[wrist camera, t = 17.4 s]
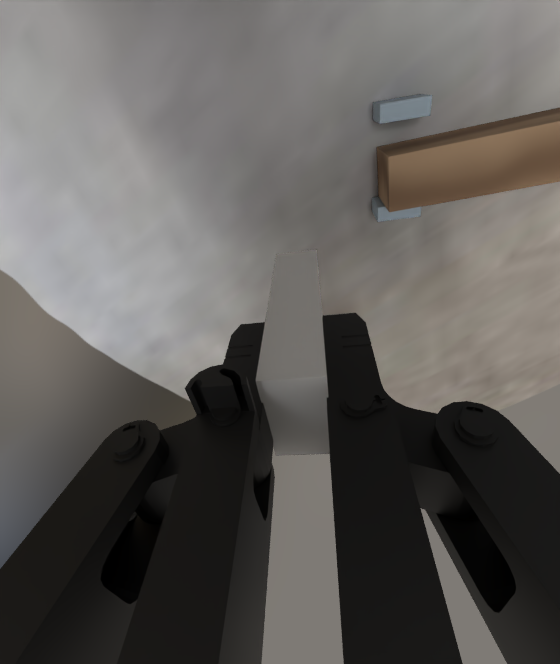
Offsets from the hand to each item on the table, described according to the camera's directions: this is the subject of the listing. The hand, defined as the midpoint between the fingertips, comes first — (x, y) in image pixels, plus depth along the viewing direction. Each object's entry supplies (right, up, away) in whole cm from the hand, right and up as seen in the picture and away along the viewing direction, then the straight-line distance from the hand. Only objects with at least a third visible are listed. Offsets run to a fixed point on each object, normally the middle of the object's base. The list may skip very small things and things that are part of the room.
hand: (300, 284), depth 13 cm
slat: (+18, +14, +14) cm, 27 cm away
